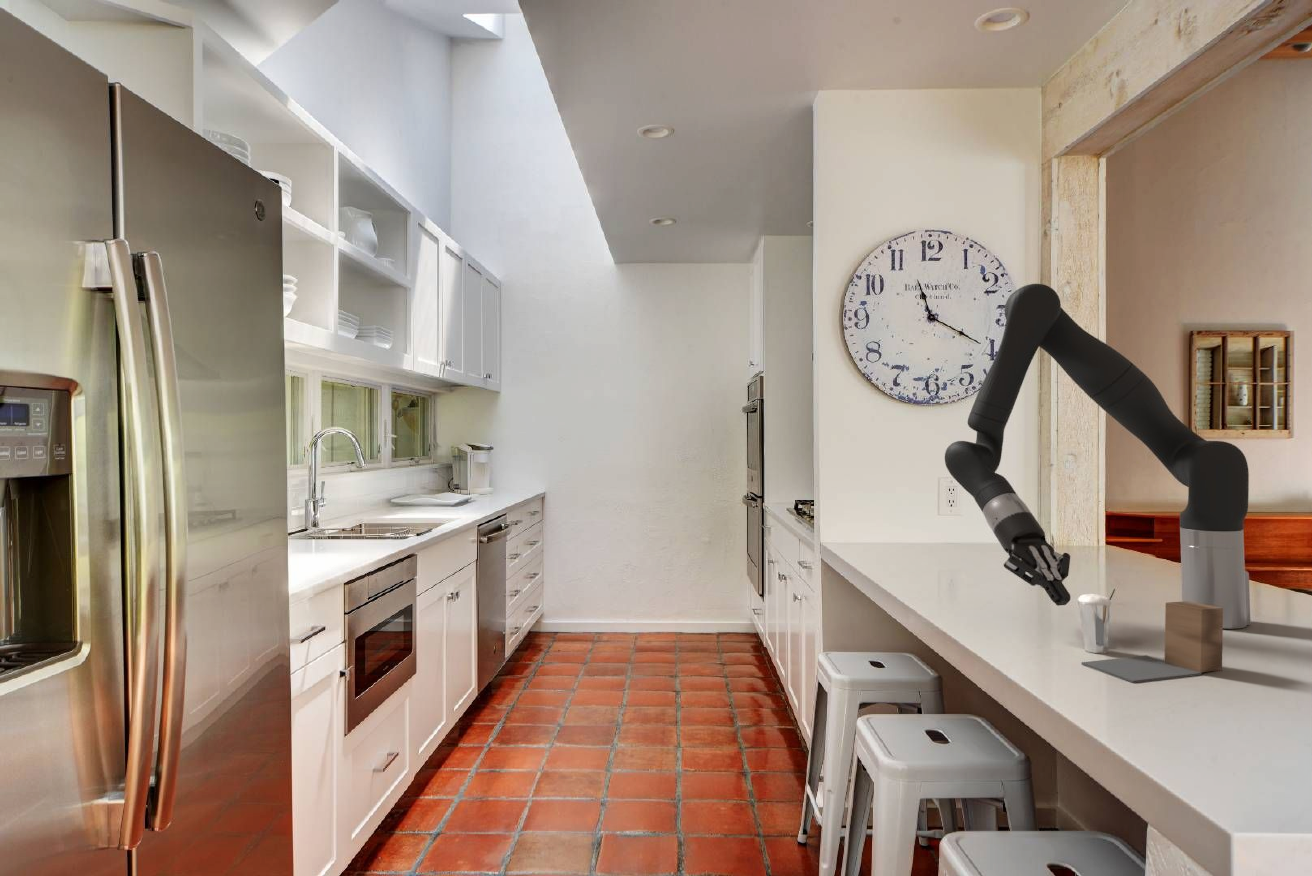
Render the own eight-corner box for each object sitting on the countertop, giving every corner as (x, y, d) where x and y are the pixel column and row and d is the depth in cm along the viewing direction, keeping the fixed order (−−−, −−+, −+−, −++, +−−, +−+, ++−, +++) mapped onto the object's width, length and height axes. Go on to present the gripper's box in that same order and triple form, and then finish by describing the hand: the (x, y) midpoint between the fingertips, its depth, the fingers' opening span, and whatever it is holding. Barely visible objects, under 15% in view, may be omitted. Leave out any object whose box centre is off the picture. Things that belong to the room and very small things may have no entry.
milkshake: (1123, 655, 114) (1121, 592, 114) (1085, 654, 115) (1083, 591, 115) (1111, 647, 118) (1109, 586, 119) (1075, 646, 119) (1073, 585, 120)
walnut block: (1185, 660, 111) (1186, 601, 111) (1222, 669, 106) (1223, 608, 106) (1164, 662, 109) (1165, 602, 109) (1200, 672, 104) (1201, 609, 104)
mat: (1146, 657, 113) (1146, 655, 113) (1201, 674, 104) (1201, 672, 104) (1081, 664, 110) (1081, 662, 110) (1132, 682, 101) (1132, 680, 101)
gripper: (991, 511, 131) (1042, 592, 119) (1053, 509, 134) (1109, 588, 122) (972, 537, 136) (1020, 617, 124) (1032, 534, 139) (1085, 612, 127)
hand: (1064, 602), depth 123 cm, fingers closed
